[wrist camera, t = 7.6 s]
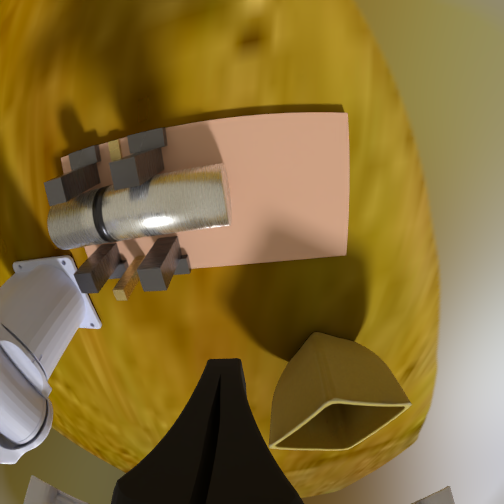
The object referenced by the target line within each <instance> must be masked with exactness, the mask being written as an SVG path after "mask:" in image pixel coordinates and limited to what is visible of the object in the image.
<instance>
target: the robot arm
mask: <svg viewBox="0 0 504 504" xmlns="http://www.w3.org/2000/svg"><path fill="white" fill-rule="evenodd" d="M64 261H65V262H66V263H65V262H64ZM13 269H14V271H15V274H14V275H13V276H11V277H10V278H9V279H8V280H7V281H6V282H5V283H4V284H3V285H2V286H1V287H0V463H2V464H15V463H16V462H17V461H18V460H19V458H20V457H21V456H22V455H23V454H24V453H25V452H27V451H29V450H31V449H33V448H35V447H37V446H38V445H40V444H41V443H42V442H43V441H44V440H45V438H46V437H47V435H48V433H49V431H50V428H51V425H52V420H53V407H52V404H51V401H50V400H49V398H48V396H49V394H50V392H51V390H52V388H51V387H50V386H49V384H48V383H47V381H48V379H49V377H50V375H51V374H52V372H53V370H54V368H55V366H56V365H57V363H58V361H59V359H60V357H61V356H62V354H63V352H64V351H65V349H66V347H67V346H68V344H69V342H70V341H71V339H72V337H73V336H74V334H75V332H76V331H77V329H78V328H95V329H99V328H100V327H101V326H102V324H101V322H100V320H99V318H98V316H97V313H96V311H95V309H94V307H93V305H92V303H91V301H90V299H89V296H88V294H87V293H81V291H80V289H79V286H78V284H77V282H76V279H75V277H74V275H73V274H74V273H75V272H76V271H77V268H76V266H75V263H74V261H73V258H72V257H71V256H69V255H65V256H57V257H49V258H41V259H33V260H25V261H18V262H14V263H13ZM24 504H88V503H86V502H83V501H81V500H79V499H76V498H74V497H73V496H71V495H68V494H66V493H64V492H62V491H60V490H58V489H57V488H55V487H53V486H50V485H49V484H47V483H46V482H43V481H42V480H40V479H38V478H37V477H35V476H33V475H32V476H31V479H30V482H29V486H28V490H27V493H26V497H25V500H24ZM111 504H304V503H303V501H302V499H301V498H300V496H299V495H298V493H297V491H296V490H295V489H294V487H293V486H292V485H291V483H290V482H289V481H288V479H287V478H286V476H285V475H284V473H283V472H282V470H281V469H280V467H279V466H278V464H277V463H276V461H275V459H274V458H273V456H272V454H271V452H270V451H269V449H268V447H267V445H266V443H265V441H264V439H263V437H262V435H261V433H260V431H259V429H258V427H257V424H256V422H255V420H254V417H253V415H252V412H251V409H250V407H249V404H248V400H247V395H246V383H245V378H244V373H243V368H242V363H241V360H240V359H238V358H233V359H209V360H208V361H207V364H206V367H205V369H204V371H203V374H202V376H201V378H200V380H199V382H198V384H197V386H196V388H195V390H194V392H193V394H192V396H191V398H190V399H189V401H188V403H187V405H186V406H185V408H184V409H183V411H182V413H181V414H180V416H179V417H178V419H177V420H176V422H175V423H174V425H173V426H172V427H171V429H170V430H169V431H168V433H167V434H166V435H165V436H164V437H163V439H162V440H161V441H160V442H159V443H158V445H157V446H156V447H155V448H154V449H153V450H152V451H151V452H150V453H149V454H148V455H147V456H146V457H145V458H144V459H143V460H142V461H141V462H140V463H138V464H137V465H136V466H135V467H134V468H133V469H131V470H130V471H129V472H128V473H126V474H125V475H124V476H122V477H121V478H120V479H119V480H117V483H116V486H115V488H114V492H113V496H112V501H111ZM412 504H454V500H453V496H452V492H451V489H450V486H447V487H446V488H444V489H442V490H440V491H438V492H436V493H433V494H431V495H429V496H427V497H425V498H423V499H421V500H418V501H416V502H414V503H412Z"/></svg>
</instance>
